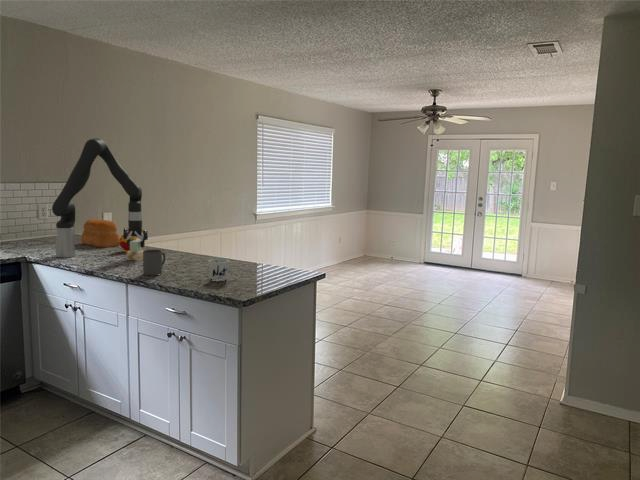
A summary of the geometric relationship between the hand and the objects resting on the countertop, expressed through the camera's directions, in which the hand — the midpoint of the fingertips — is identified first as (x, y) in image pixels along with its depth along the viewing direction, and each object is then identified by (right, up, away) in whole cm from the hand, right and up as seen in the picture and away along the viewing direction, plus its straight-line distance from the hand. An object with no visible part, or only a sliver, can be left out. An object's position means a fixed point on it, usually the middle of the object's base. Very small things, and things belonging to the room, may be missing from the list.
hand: (135, 246), depth 288 cm
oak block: (0, -8, +1) cm, 8 cm away
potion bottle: (-14, -4, +24) cm, 28 cm away
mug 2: (+57, -16, -42) cm, 73 cm away
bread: (-41, 0, +46) cm, 62 cm away
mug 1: (+23, -13, -34) cm, 43 cm away
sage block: (0, -3, +1) cm, 3 cm away
